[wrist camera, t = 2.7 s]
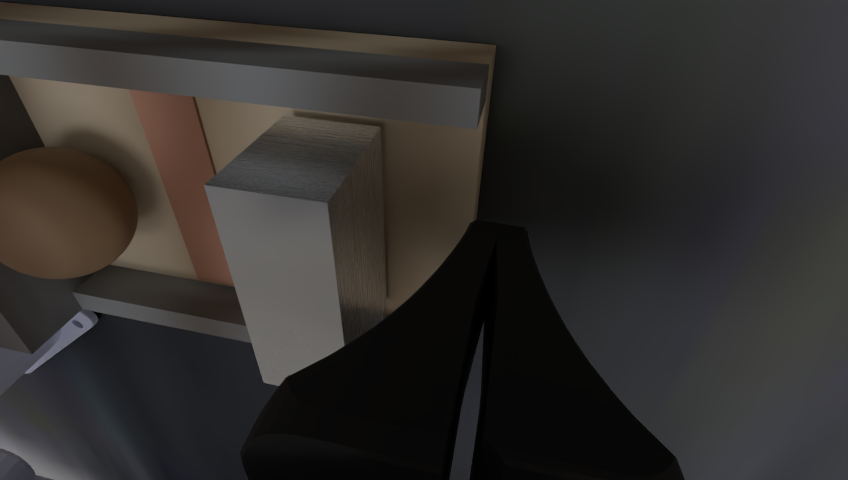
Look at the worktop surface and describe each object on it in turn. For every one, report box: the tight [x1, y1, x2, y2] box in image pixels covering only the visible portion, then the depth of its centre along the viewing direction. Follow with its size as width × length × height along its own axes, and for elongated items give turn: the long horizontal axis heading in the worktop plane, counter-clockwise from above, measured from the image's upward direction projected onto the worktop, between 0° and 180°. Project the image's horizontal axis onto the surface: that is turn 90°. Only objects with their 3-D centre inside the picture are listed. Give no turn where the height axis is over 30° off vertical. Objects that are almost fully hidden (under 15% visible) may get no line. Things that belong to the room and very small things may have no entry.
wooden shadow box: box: [0, 2, 496, 354], centre depth 13 cm, size 15×9×5 cm, turn 90°
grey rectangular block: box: [204, 115, 387, 386], centre depth 12 cm, size 2×6×3 cm, turn 179°
